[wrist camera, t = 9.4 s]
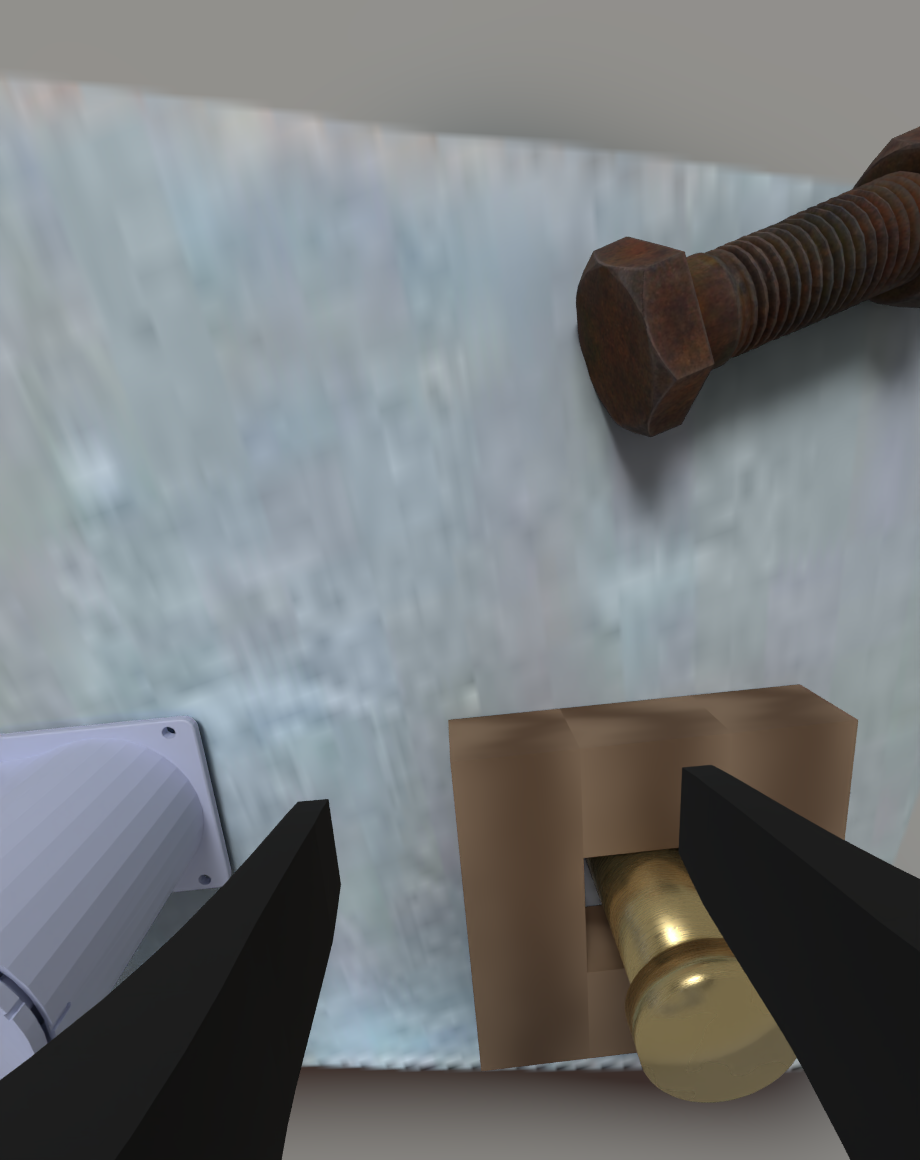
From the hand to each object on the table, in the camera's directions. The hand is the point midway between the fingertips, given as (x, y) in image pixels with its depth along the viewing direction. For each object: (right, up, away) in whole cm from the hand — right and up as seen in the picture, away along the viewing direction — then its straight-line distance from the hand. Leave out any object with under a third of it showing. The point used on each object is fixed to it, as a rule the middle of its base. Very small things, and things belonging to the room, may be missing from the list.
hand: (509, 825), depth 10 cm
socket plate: (+7, -7, +13) cm, 16 cm away
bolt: (+11, +15, +8) cm, 20 cm away
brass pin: (+7, -7, +13) cm, 16 cm away
